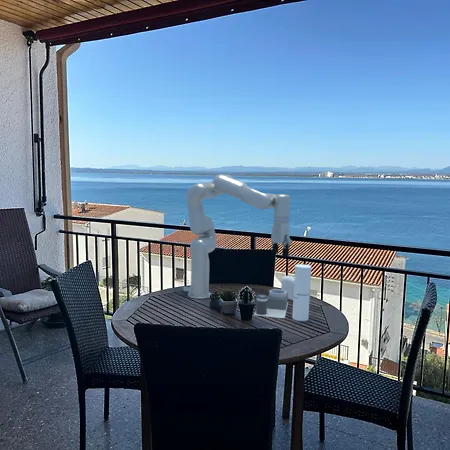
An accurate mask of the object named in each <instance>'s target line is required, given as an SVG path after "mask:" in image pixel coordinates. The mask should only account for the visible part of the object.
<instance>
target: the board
mask: <svg viewBox="0 0 450 450" xmlns="http://www.w3.org/2000/svg"><path fill="white" fill-rule="evenodd" d="M288 307H289V301H287V306H286V310H278V309H268V308H267V314H265V315H259V314H257V313H256V311H254V313H253V315H254V316H259V317H269V318H279V319H285V317H286V314H287V309H288Z"/></svg>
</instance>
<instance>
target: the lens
mask: <svg viewBox="0 0 450 450" xmlns="http://www.w3.org/2000/svg"><path fill="white" fill-rule="evenodd" d="M267 301H268V295H265V294H257V295H256V305H255V306H256V307H255V312H256V313H257V314H259V315H265V314H267Z"/></svg>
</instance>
